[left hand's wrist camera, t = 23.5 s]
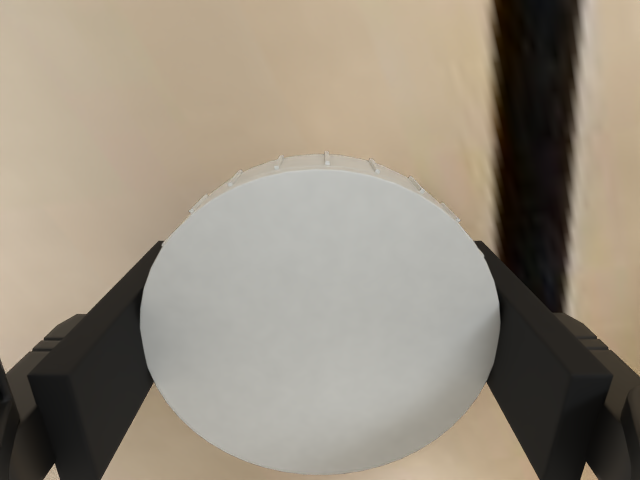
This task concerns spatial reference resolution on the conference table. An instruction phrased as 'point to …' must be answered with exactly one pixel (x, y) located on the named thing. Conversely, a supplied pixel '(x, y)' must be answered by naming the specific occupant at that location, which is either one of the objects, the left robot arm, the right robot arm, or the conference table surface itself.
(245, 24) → the conference table surface
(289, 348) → the lid
